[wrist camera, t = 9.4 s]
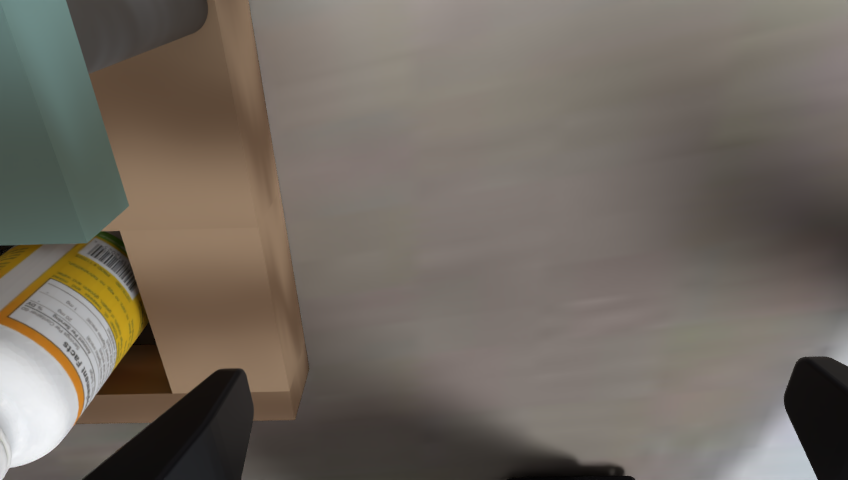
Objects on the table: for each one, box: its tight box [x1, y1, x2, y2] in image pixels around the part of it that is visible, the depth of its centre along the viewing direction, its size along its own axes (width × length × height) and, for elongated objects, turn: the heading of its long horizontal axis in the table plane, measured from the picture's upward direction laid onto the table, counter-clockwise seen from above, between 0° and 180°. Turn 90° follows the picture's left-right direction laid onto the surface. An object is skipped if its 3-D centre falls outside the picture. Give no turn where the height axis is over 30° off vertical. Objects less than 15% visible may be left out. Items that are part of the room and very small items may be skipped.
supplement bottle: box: [0, 231, 149, 480], centre depth 18 cm, size 5×5×10 cm
